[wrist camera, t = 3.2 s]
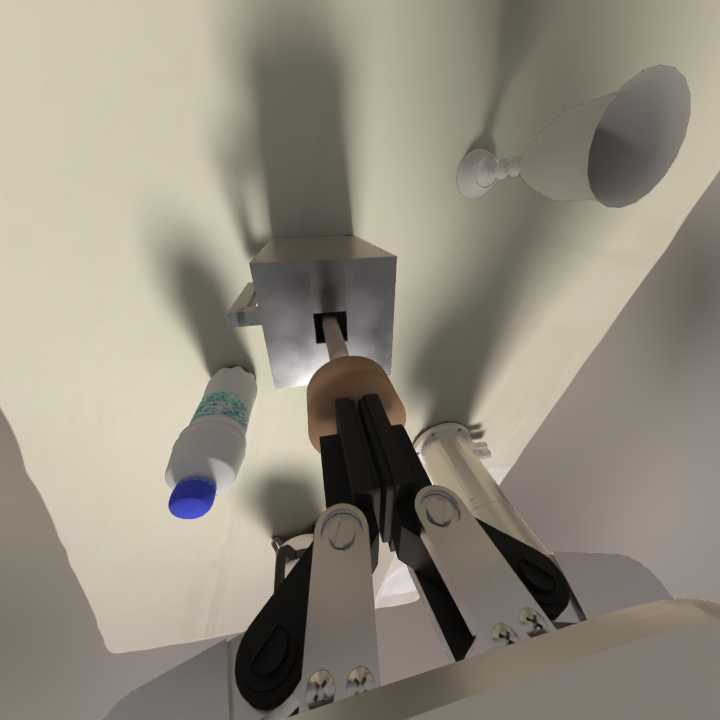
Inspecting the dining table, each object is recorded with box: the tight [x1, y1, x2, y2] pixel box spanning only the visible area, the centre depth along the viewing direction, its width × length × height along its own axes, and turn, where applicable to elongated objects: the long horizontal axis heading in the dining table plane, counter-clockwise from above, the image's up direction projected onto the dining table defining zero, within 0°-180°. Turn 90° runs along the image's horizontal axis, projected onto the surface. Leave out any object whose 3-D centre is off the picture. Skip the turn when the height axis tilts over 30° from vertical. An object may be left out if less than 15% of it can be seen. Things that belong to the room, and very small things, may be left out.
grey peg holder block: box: [228, 235, 397, 389], centre depth 27 cm, size 13×10×17 cm
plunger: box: [307, 311, 406, 453], centre depth 19 cm, size 7×7×19 cm
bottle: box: [165, 366, 257, 519], centre depth 31 cm, size 7×7×20 cm
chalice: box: [457, 65, 690, 208], centre depth 25 cm, size 7×7×18 cm
